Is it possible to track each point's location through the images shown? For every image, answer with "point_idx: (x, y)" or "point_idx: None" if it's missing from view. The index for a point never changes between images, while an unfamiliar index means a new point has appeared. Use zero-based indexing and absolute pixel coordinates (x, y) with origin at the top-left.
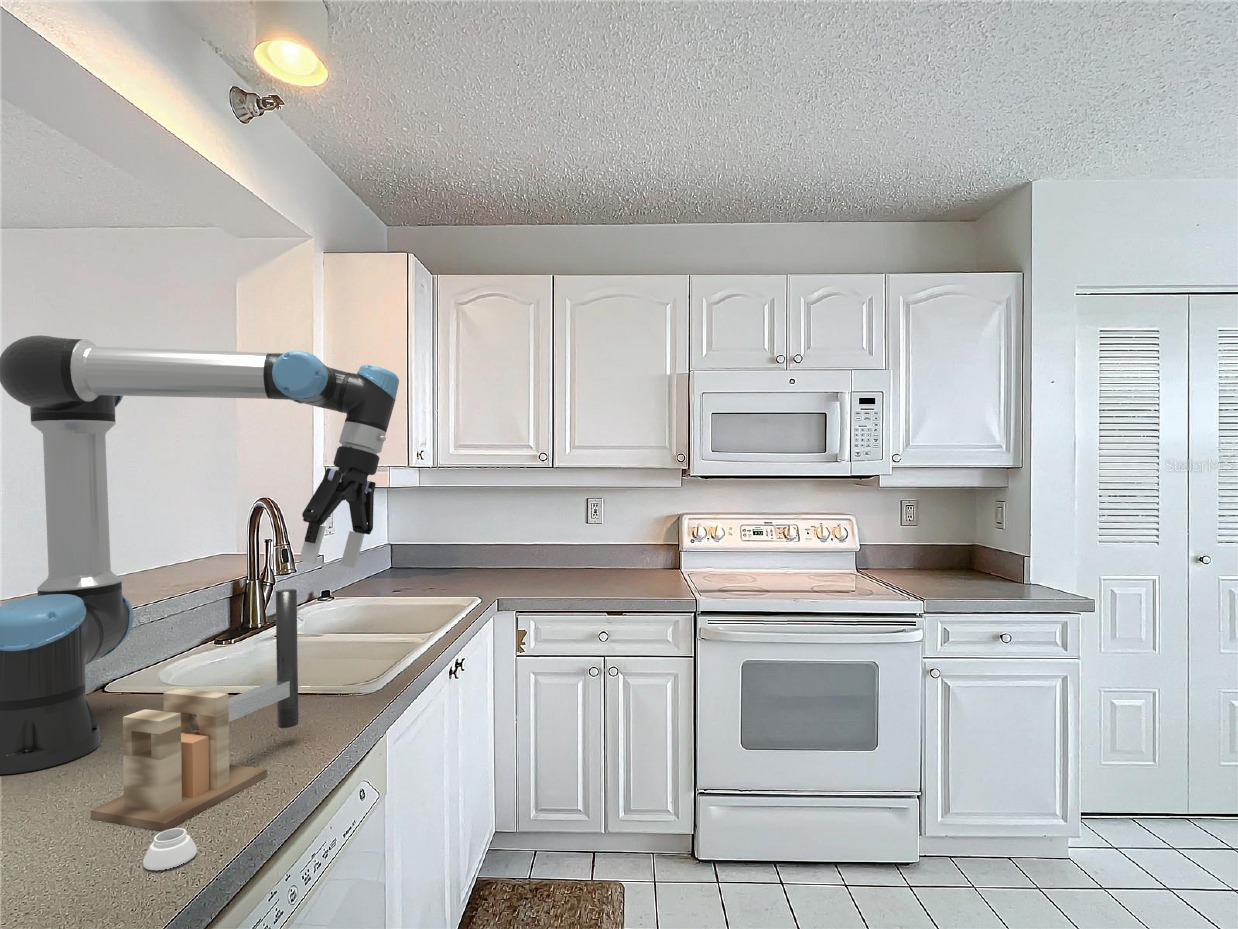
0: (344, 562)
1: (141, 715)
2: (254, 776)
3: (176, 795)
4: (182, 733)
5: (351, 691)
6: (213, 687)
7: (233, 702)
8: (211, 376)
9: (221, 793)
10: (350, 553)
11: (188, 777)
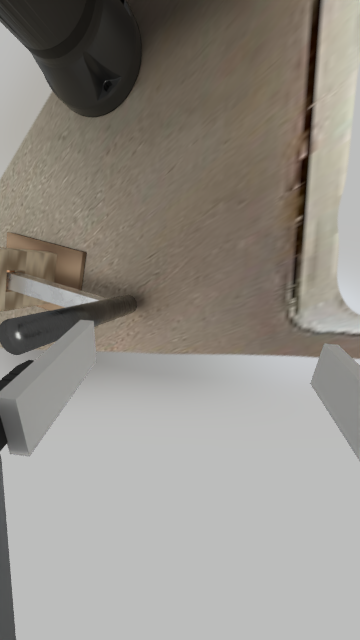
0: (326, 359)
1: None
2: None
3: None
4: (9, 271)
5: (305, 296)
6: (348, 57)
7: (32, 295)
8: None
9: (38, 306)
10: (338, 393)
11: None
